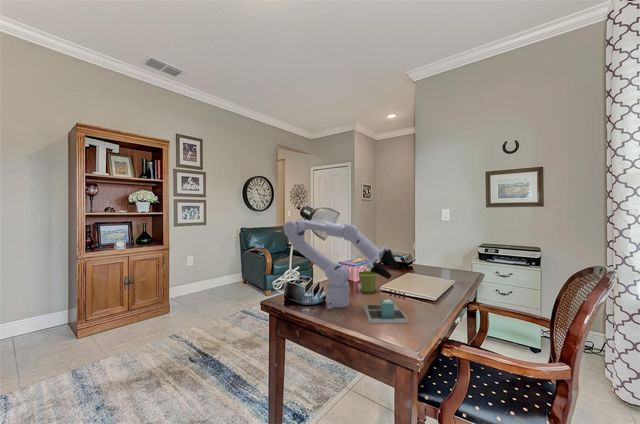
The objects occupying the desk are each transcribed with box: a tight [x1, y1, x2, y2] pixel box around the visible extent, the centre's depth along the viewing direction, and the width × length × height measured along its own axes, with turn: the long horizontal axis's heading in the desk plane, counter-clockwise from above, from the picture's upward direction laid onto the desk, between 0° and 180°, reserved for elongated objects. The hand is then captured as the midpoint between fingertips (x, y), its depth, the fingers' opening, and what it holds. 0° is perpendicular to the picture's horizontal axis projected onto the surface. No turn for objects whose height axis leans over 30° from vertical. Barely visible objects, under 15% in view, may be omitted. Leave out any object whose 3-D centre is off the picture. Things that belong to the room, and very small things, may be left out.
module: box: [380, 299, 395, 319], centre depth 95 cm, size 4×4×6 cm
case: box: [365, 309, 409, 324], centre depth 95 cm, size 13×8×2 cm, turn 88°
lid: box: [363, 303, 400, 313], centre depth 103 cm, size 13×8×1 cm, turn 88°
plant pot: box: [357, 270, 378, 293], centre depth 126 cm, size 9×9×9 cm
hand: (393, 272), depth 101 cm, fingers open, 7 cm apart
